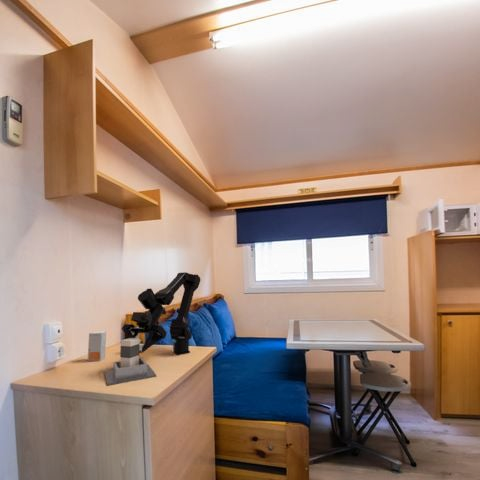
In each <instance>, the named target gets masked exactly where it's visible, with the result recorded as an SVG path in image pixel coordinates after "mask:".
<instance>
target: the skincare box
mask: <svg viewBox="0 0 480 480" xmlns="http://www.w3.org/2000/svg"><path fill="white" fill-rule="evenodd" d="M106 342H107V331H92V332H89V333H88V344H87V345H88V347H87V361H88V362H95V361H97V362H101V361H103V360H104V359H106V350H107V349H106V344H107V343H106Z"/></svg>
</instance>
